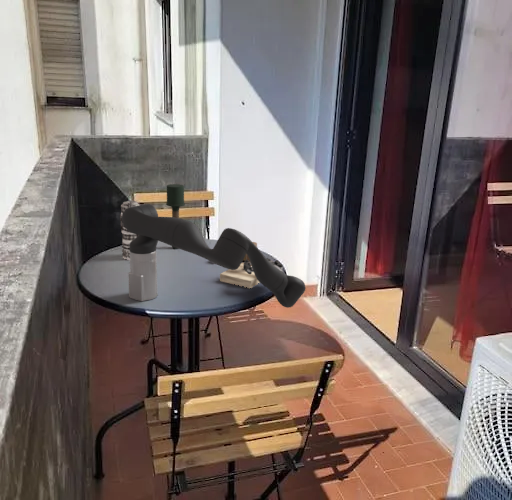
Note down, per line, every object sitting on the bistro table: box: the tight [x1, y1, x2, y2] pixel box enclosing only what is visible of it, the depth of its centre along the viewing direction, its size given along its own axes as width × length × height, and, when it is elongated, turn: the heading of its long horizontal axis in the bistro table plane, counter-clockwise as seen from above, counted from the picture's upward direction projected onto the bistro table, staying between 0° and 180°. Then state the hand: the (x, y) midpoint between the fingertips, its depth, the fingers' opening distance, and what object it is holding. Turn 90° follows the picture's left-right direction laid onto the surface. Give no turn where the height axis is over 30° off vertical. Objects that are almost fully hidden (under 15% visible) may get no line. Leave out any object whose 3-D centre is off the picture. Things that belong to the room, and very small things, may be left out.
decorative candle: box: [119, 200, 140, 261], centre depth 214 cm, size 9×9×25 cm
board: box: [219, 262, 261, 289], centre depth 197 cm, size 17×14×3 cm
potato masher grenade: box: [165, 183, 186, 250], centre depth 228 cm, size 8×9×30 cm
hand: (256, 261), depth 192 cm, fingers open, 8 cm apart
